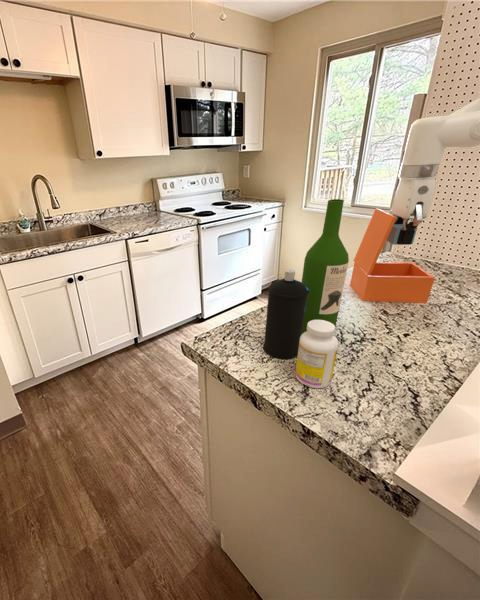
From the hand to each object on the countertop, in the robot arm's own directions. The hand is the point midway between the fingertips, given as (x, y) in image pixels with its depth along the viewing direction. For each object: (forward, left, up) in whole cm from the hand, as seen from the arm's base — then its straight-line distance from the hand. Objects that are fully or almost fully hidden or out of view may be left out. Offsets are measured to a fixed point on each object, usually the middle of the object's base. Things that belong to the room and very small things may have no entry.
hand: (399, 241), depth 87 cm
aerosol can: (+33, +34, -17) cm, 50 cm away
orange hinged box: (0, -1, -17) cm, 17 cm away
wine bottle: (+24, +24, -17) cm, 38 cm away
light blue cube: (0, 0, 0) cm, 0 cm away
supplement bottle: (+28, +44, -17) cm, 55 cm away
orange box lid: (+6, -1, 0) cm, 6 cm away
